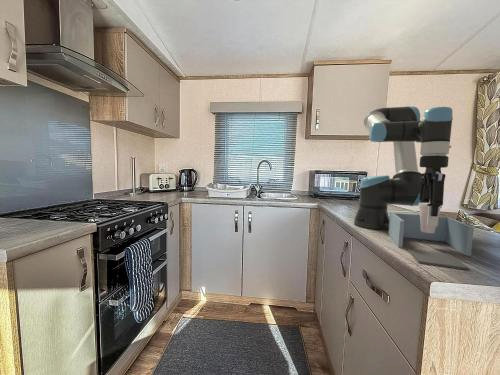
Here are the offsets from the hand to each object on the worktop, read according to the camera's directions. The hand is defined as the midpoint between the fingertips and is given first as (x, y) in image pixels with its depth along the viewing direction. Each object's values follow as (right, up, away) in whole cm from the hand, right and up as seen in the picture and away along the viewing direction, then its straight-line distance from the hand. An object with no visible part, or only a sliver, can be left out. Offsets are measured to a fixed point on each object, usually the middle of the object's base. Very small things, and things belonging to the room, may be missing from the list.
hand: (428, 223), depth 79 cm
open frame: (+1, -8, +3) cm, 8 cm away
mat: (-7, -9, -12) cm, 16 cm away
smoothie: (0, -3, 0) cm, 3 cm away
